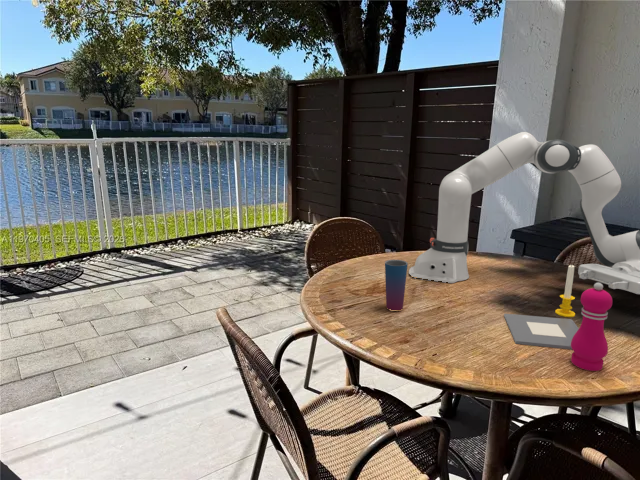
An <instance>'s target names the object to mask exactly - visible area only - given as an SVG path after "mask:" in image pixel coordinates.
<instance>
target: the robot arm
mask: <svg viewBox="0 0 640 480" xmlns="http://www.w3.org/2000/svg"><path fill="white" fill-rule="evenodd" d="M527 164H530V165H532V166H533V167H534V168H535V169H537V170H538V171H540V172H543V173H546V174H557V173H558V174H559V173H562V172H569V173H570V174H571V175H572V176H573V177H574V179H575V181H576V183H577V184H578V186H579V188H580V191H581V199H580V201H579V209H580V212H581V215H582V219H583V221H584V224H585V227H586V229H587V231H588V232H587V233H588V234H589V238H590V240H591V243H592V249H593V253H594V256H595V259H597V261H598V262H599V263H600V264H599V263H584V264H583V263H581V264H580V265H578V270H577V271H578V272H577V273H578V276H579V277H578V278H579V279H582V280H587V279H589V280H592V281H595V282H597V283H601V284H605V285H608V288H609V289H613V290H616V289H619V290H622V291H627V292H630V293H633V294H636V295H640V229H638V230H634V231H630V232H626V233H623V234H618V235H614V236H613V235H611V234H609V231H608V229H607V227H606V226H607V225H606V223H605V220H604V218H603V215H602V211H603V209H604V207H605V206H606V205H608V204H609V203H610V202H611V201H612V200H613V199H614V198H616V196H618V194H619V192H620V190H621V189H622V180H621V177H620V175H619V173H618V171H617V169H616V167H615V166H614V164H613V163H612V162H611V160H610V159H609V157H608V156H607V155H606V154H605V152H604V151H603V150H602V149H601V148H600V147H599V146H598V145H596V144H594V143H593V144H592V143H590V144H585V145H581V146H579V147H578V146H576V145H574V144H572V143H570V142H569V141H567V140H564V139H551V140H547V141H542V142H541V141H538V140H537V138H536V137H535V136H534V135H533V134H531V133H530V132H527V131H521V132H518V133H516V134H513V135H511V136H509V137H507V138H505V139H503V140H501V141H500V142H498V143H497V144H495V145H493V146H492V147H490V148H488V149H487V150H486V151H484V152H483V153H481V154H479V155H478V156H476V157H475V158H473V159H471V160H470V161H468V162H466V163H465V164H463V165H461V166H460V167H458V168H456V169H455V170H453V171H451V172H450V173H448V174H447V175H446V176H444V177H443V179H442V180H441V182H440V184H439V188H438V209H437V229H436V238H435V237H430V239H429V243H430V248H429V249H427V250H425V251H424V252H422V253H421V254H419V255H418V256H417V257H416V260H415V263H414V265H413V266H411V267H410V268H409V270H408V275H409V274H410V275H411V276H413V277H417V278H422V279H421V280H423V279H428V280H427V281H431V280H434V281H433V282H438V281H442V282H441V283H446V282H448V284H454V283H457V282H461V281H465V280H467V279H469V278H470V275H469V270H468V262H467V261H468V260H467V259H468V258H467V257H468V253H469V240H468V234H469V222H470V221H469V220H470V212H471V204H472V203H471V202H472V195H473V194H475V193H477V192H478V191H481V190H482V189H485V188H486V187H489V186H490V185H492V184H494V183H496V182H498V181H499V180H501V179H503V178H505V177H506V176H508V175H509V174H511V173H512V172H514V171H516V170H517V169H519V168H521V167H522V166H525V165H527Z"/></svg>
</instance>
